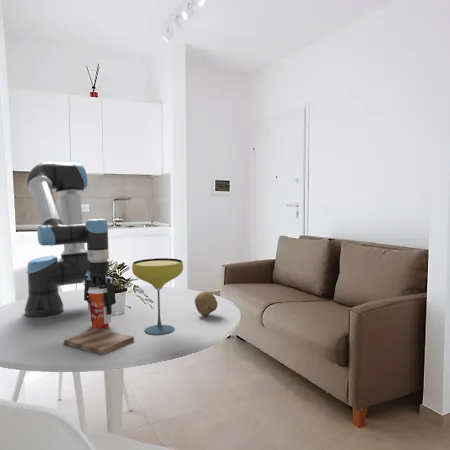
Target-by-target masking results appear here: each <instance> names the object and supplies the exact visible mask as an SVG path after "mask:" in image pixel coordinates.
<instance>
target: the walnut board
mask: <svg viewBox="0 0 450 450" xmlns="http://www.w3.org/2000/svg"><path fill="white" fill-rule="evenodd" d="M132 342H135V337H134V336H133V335H129V334H124V333H120V332H117V331H116V332H115V331H111V330H106V329H99V328H96V329H93V328H92V329H91V330H88V331H85V332H82V333H80V334H76V335H74V336H71V337H68V338H66V339H63V345H64V346H68V347H73V348H76V349H80V350H83V351H86V352H90V353H94V354H98V355H101V356H102V355H104V354H107V353H109V352H111V351H113V350H116V349H118V348H120V347H123V346H125V345H128V344H130V343H132Z"/></svg>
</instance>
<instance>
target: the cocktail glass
mask: <svg viewBox="0 0 450 450" xmlns="http://www.w3.org/2000/svg"><path fill="white" fill-rule="evenodd" d="M131 269H132V274H133V275H134V276H135V277H136V278H138V279H140V280H141V281H143V282H146V283H148V284H150V285H151V286H152V287H154V289H155V290H156V291H157V324H155V325H151V326H150V325H149V326H148V327H145V328H144V330H143V331H144V333H145V334H147V335H152V336H153V335H154V336H162V335H167V334H170V333H173V332H174V331H175V327H174V326H172V325H170V324H162V320H161V305H160V304H161V300H160V290H161V289H163V288H164V286H165V285H166V284H167V283H168V282H170V281H172V280H174V279H176V278H178V277H179V276H180V275H181V274H182V273H183V271H184V263H183V261H182V260H181V259H177V258H167V257H166V258H164V257H163V258H147V259H140V260H136V261H134V262H132V266H131Z"/></svg>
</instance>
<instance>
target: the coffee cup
mask: <svg viewBox="0 0 450 450" xmlns="http://www.w3.org/2000/svg"><path fill="white" fill-rule="evenodd" d="M103 286H104V285H103ZM103 291H104V292H103ZM106 292H107V288H105V289H99V286H97V287H89V290H88V293H89V303H90V313H91V321H90V322H91V329H92V330H93V329H96V328H99V329H103V330H105V329H107V328H108V327H109V325H110V323H107V324H104V305H105V303H104V299H103V293H106Z"/></svg>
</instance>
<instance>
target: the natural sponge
mask: <svg viewBox="0 0 450 450" xmlns="http://www.w3.org/2000/svg"><path fill="white" fill-rule="evenodd" d="M194 305H195V308H196V310H197V312H198V313H199V314H200V315H201V316H202V317H208V316H209V315H210V314H211V313H212V312H214V311H216V310H217V309H218V301H217V299H216V297H215V295H214V294H213V293H212V292H209V291H202V292H199V293H198V294H197V295H196V296H195V298H194Z"/></svg>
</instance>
